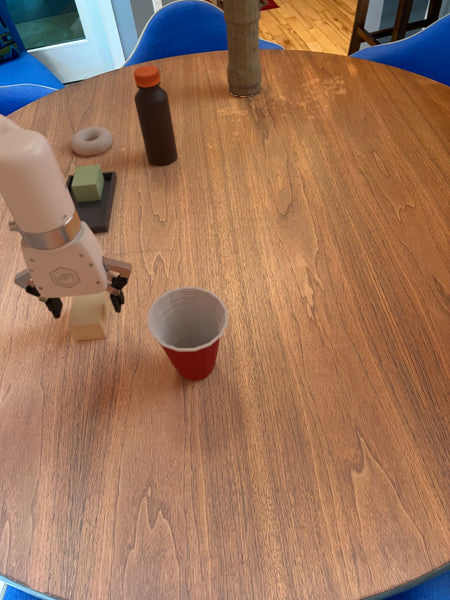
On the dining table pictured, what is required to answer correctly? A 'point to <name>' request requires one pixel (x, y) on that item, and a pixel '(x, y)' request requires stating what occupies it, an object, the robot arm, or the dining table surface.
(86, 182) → the sage block
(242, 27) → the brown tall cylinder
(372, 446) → the dining table surface
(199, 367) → the plastic cup
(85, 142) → the donut
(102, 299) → the tan block
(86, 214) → the tray
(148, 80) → the bottle
